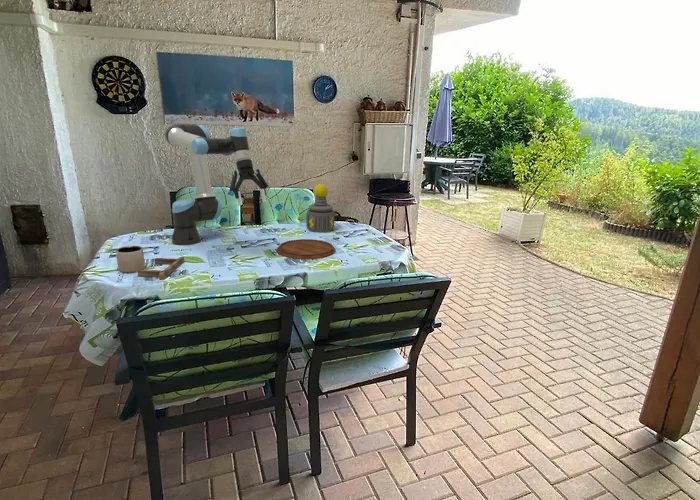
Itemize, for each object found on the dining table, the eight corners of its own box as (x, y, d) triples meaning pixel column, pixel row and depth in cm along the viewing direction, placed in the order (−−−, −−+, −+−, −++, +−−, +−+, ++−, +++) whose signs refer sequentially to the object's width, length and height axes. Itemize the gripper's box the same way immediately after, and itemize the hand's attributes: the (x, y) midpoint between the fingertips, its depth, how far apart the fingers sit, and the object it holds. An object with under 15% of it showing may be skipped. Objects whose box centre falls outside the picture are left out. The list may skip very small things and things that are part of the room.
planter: (127, 275, 174) (124, 254, 172) (113, 269, 180) (110, 249, 177) (150, 268, 183) (148, 248, 180) (136, 263, 189) (134, 244, 186)
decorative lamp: (323, 234, 252) (324, 187, 244) (300, 229, 262) (300, 183, 253) (340, 229, 268) (341, 184, 259) (317, 224, 277) (318, 181, 268)
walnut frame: (159, 261, 193) (158, 256, 192) (184, 261, 193) (183, 256, 193) (134, 278, 170) (133, 273, 169) (162, 279, 170) (162, 274, 170)
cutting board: (303, 239, 240) (303, 235, 239) (346, 250, 223) (347, 245, 222) (264, 251, 215) (264, 247, 214) (309, 264, 198) (309, 259, 197)
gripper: (223, 159, 183) (233, 205, 184) (269, 157, 200) (278, 199, 202) (216, 163, 188) (226, 207, 190) (261, 161, 205) (270, 202, 207)
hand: (252, 203), depth 196 cm, fingers open, 13 cm apart
